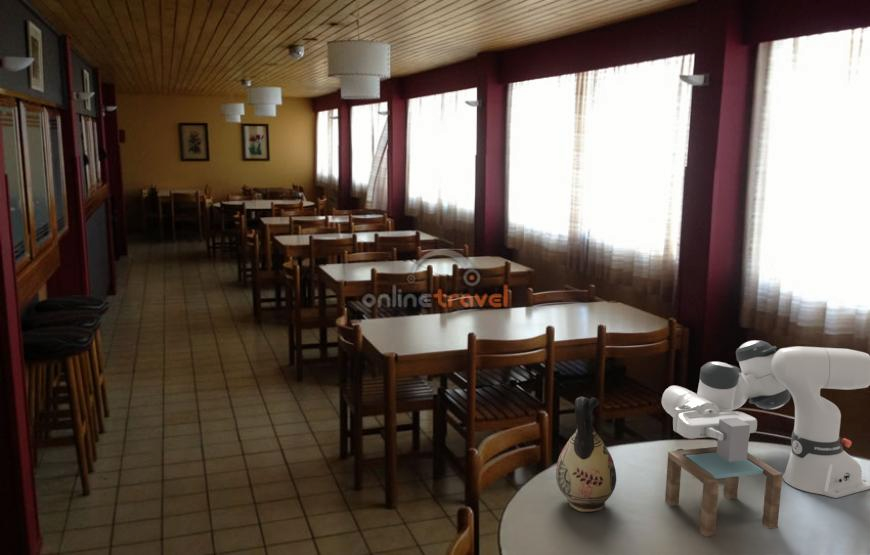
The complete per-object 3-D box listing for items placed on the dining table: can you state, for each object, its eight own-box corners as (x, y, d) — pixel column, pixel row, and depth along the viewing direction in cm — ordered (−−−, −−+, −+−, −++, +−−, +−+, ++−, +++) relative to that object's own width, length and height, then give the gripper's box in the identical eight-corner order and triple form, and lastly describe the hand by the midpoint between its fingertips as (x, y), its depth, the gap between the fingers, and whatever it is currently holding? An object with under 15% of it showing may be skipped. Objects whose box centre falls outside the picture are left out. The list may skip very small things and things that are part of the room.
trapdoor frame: (731, 493, 198) (735, 444, 196) (777, 527, 181) (782, 474, 178) (664, 501, 194) (668, 451, 191) (705, 536, 176) (709, 482, 174)
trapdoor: (732, 454, 192) (733, 450, 192) (762, 473, 181) (763, 469, 181) (685, 459, 189) (685, 455, 189) (712, 479, 178) (713, 475, 178)
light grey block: (734, 451, 185) (737, 417, 183) (746, 459, 180) (749, 424, 178) (716, 453, 183) (719, 419, 182) (729, 461, 179) (731, 426, 177)
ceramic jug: (565, 486, 202) (569, 381, 197) (621, 498, 195) (626, 390, 190) (544, 512, 188) (548, 400, 182) (604, 526, 180) (610, 411, 175)
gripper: (736, 424, 196) (771, 444, 183) (667, 431, 191) (698, 452, 178) (738, 402, 195) (773, 420, 182) (669, 408, 190) (700, 427, 177)
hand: (735, 436), depth 180 cm, fingers closed on light grey block, 5 cm apart
